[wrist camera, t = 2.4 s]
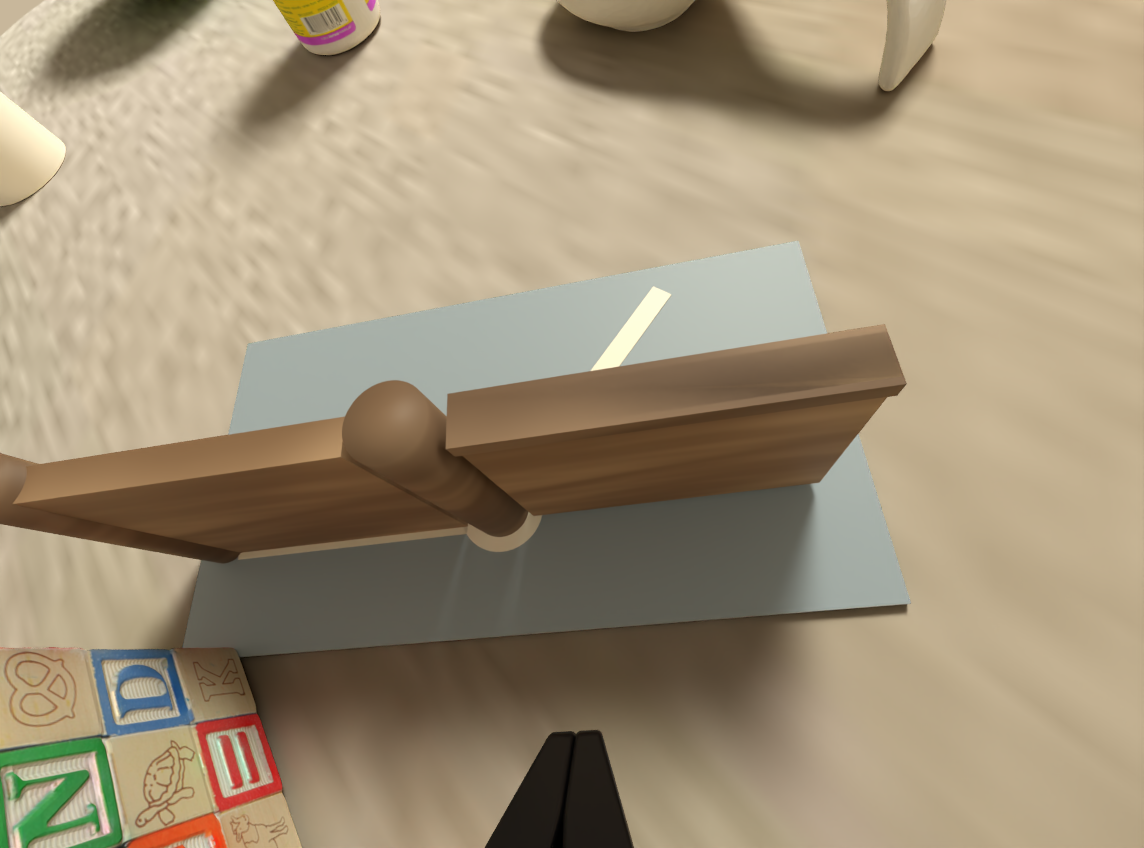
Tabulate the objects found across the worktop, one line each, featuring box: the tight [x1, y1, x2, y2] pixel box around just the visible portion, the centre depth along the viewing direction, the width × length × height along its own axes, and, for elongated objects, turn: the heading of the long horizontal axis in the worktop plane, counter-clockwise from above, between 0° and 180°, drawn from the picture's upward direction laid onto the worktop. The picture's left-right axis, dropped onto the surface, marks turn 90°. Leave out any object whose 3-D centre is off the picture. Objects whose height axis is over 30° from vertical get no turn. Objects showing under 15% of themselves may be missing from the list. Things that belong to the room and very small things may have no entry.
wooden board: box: [446, 324, 906, 516], centre depth 17 cm, size 2×11×8 cm, turn 94°
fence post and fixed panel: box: [0, 380, 528, 564], centre depth 19 cm, size 2×15×10 cm, turn 94°
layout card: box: [182, 241, 911, 657], centre depth 23 cm, size 16×29×1 cm, turn 94°
